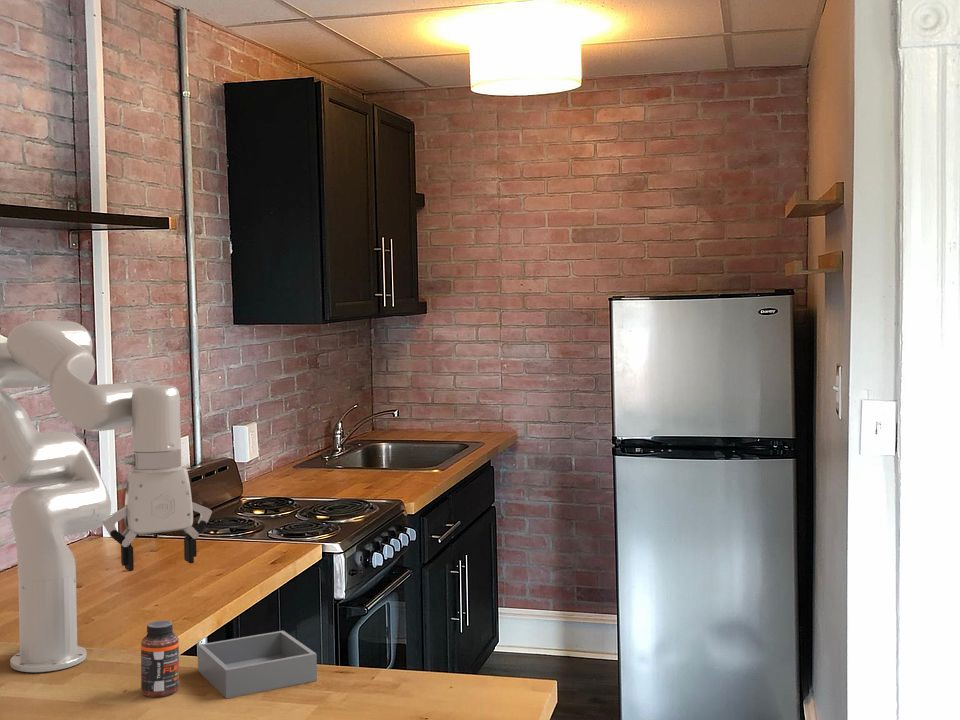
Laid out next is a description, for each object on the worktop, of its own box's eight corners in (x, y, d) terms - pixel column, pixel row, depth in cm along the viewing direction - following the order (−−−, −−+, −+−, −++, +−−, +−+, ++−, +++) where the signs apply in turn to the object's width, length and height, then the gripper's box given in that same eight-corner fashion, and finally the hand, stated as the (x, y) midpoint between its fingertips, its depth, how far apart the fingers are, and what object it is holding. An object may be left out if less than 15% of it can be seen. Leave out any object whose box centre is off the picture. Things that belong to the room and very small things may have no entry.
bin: (198, 671, 179) (197, 644, 179) (283, 655, 188) (283, 630, 187) (226, 698, 166) (225, 670, 166) (316, 680, 174) (316, 653, 174)
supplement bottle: (168, 699, 166) (167, 629, 165) (134, 697, 167) (133, 627, 167) (185, 686, 172) (184, 619, 171) (153, 684, 173) (152, 617, 172)
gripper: (106, 468, 160) (109, 577, 161) (216, 459, 169) (218, 563, 170) (96, 463, 167) (99, 568, 167) (203, 455, 176) (205, 555, 176)
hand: (159, 565), depth 168 cm, fingers open, 9 cm apart
